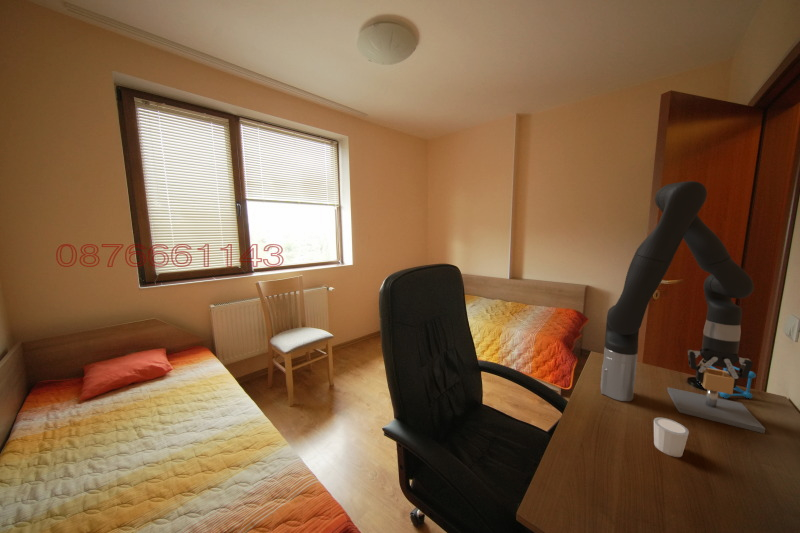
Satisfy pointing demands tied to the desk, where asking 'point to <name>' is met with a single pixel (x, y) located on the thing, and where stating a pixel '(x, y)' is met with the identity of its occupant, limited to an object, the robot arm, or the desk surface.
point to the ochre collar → (718, 381)
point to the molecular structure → (744, 393)
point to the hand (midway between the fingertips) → (714, 384)
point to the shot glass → (670, 436)
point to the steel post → (711, 398)
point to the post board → (715, 410)
